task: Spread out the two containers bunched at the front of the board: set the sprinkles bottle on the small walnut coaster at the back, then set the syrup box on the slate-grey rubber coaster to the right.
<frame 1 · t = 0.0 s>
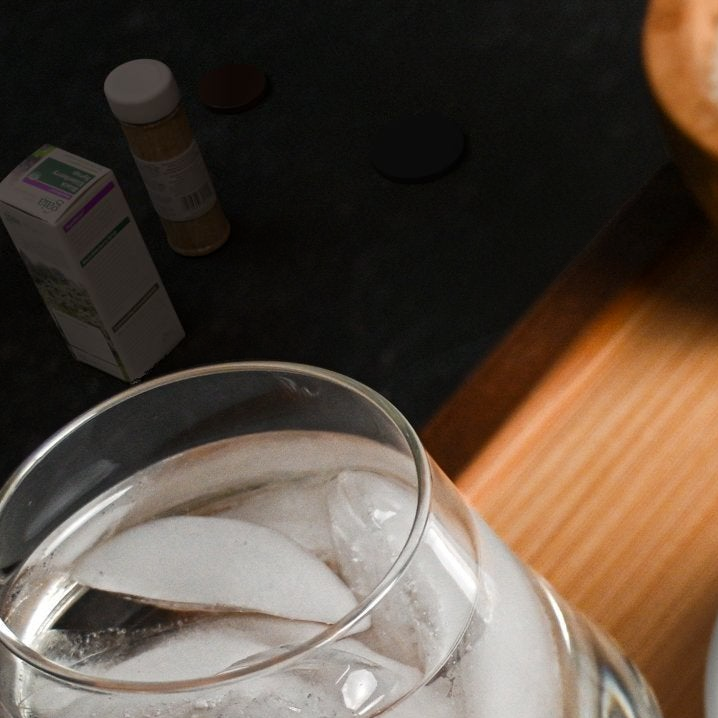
back coaster: (233, 91, 146), on the countertop
sprinkles bottle: (200, 240, 138), on the countertop
syrup box: (131, 351, 132), on the countertop
side coaster: (418, 152, 142), on the countertop
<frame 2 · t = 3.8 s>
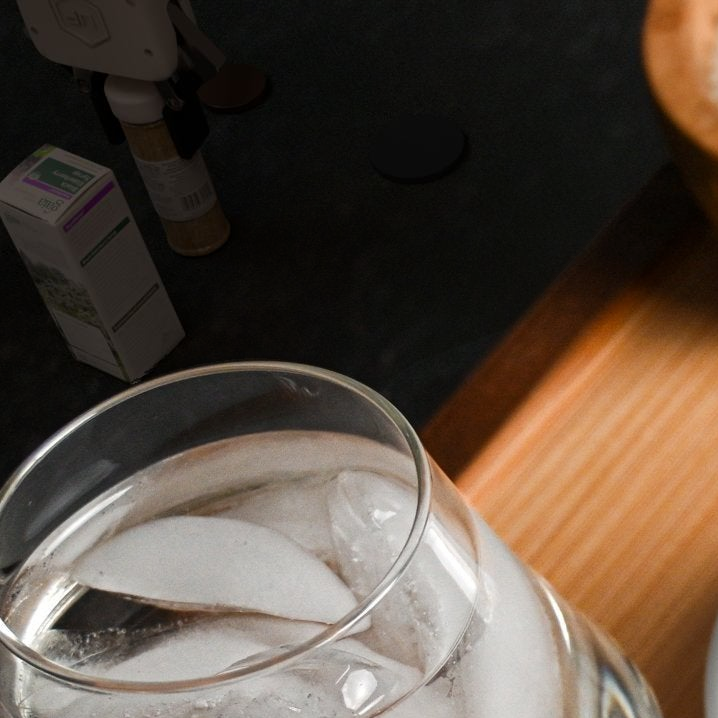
hand: (160, 136, 130), 9 cm above the countertop, tool pointing down, fingers closed on sprinkles bottle, 4 cm apart
sprinkles bottle: (200, 240, 138), on the countertop, touching gripper
everything else where it was.
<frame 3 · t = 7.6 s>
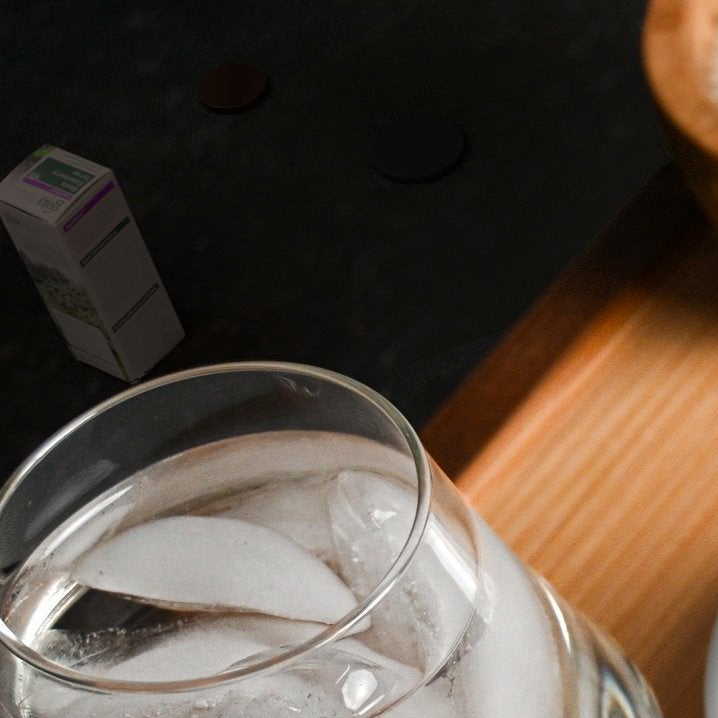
when the fingers open (9 cm above the countertop, at t = 11.7 s): sprinkles bottle stays where it is, resting on back coaster.
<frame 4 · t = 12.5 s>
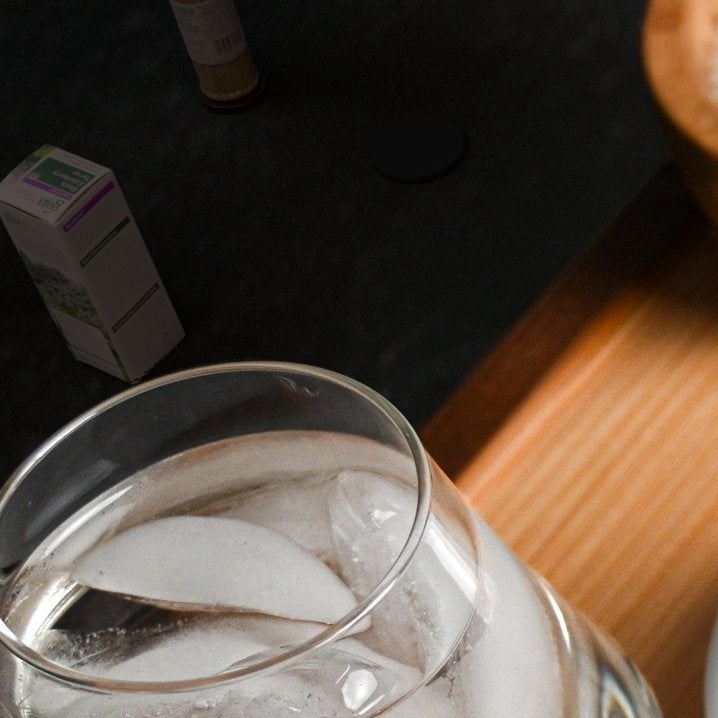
sprinkles bottle: (231, 87, 146), resting on back coaster
everything else where it was.
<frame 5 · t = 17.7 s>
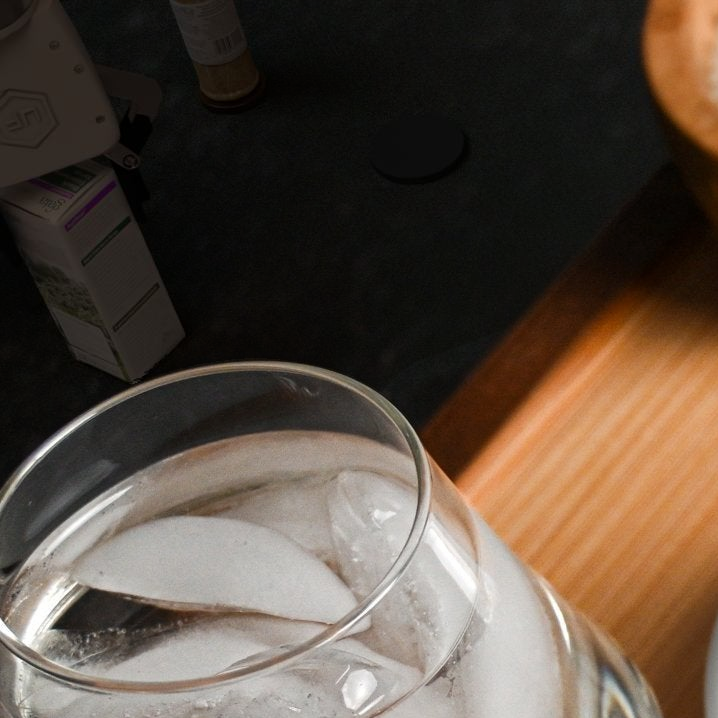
hand: (75, 230, 123), 10 cm above the countertop, tool pointing down, fingers closed on syrup box, 7 cm apart
syrup box: (130, 351, 132), on the countertop, touching gripper
everything else where it was.
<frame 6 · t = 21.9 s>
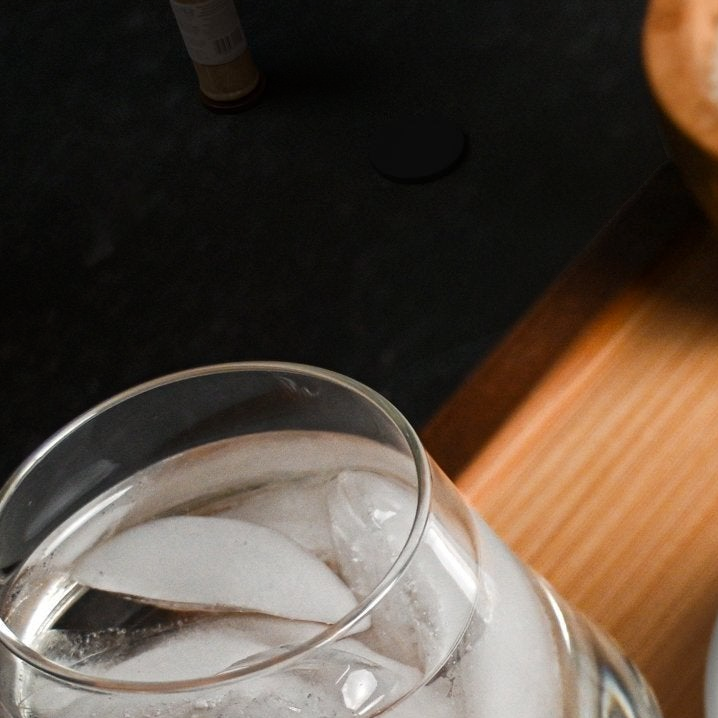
when the fingers open (11 cm above the countertop, at t = 26.2 s): syrup box stays where it is, resting on side coaster.
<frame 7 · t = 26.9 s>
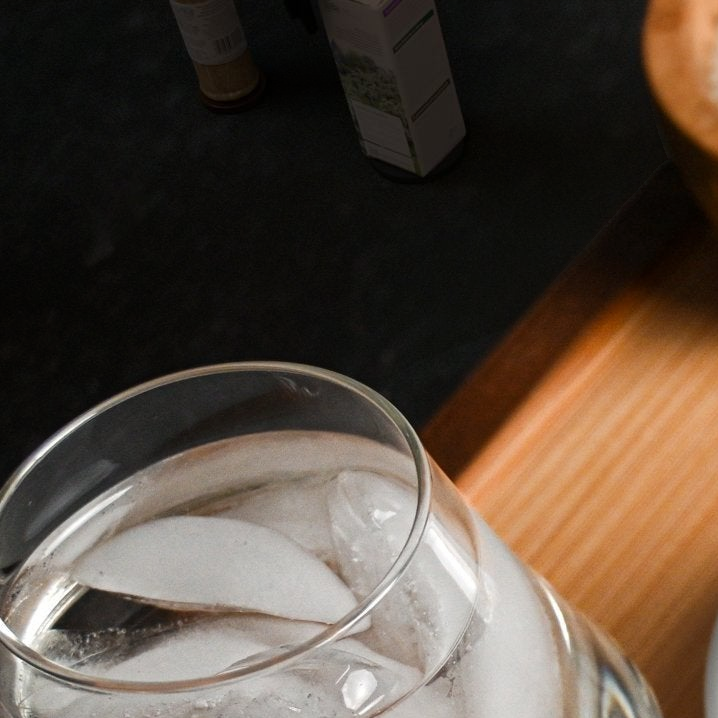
hand: (374, 1, 131), 13 cm above the countertop, tool pointing down, fingers open, 9 cm apart
syrup box: (415, 148, 141), resting on side coaster
everything else where it was.
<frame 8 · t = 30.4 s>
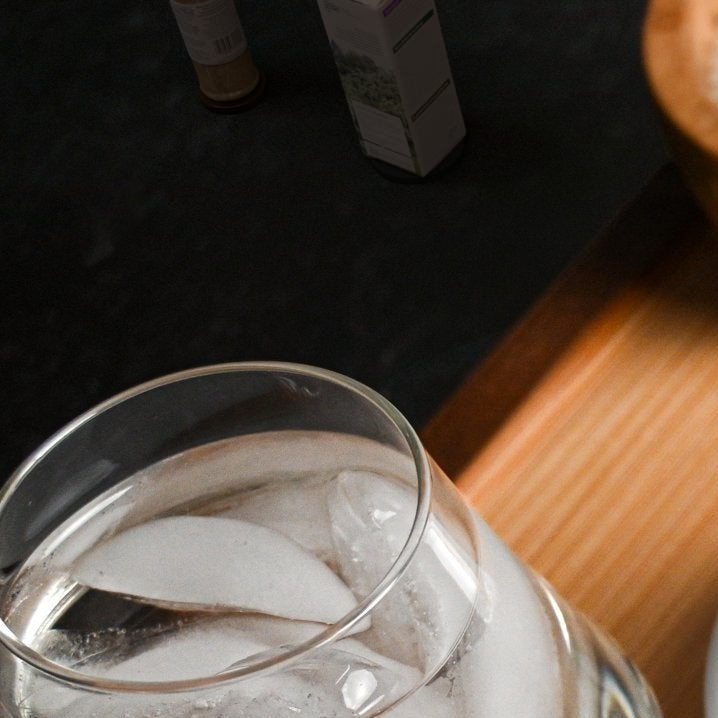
nothing on the countertop moved.
at the end: sprinkles bottle 0.1 cm off-centre on the back coaster, point 0.4 cm above the back coaster's base; syrup box 0.1 cm off-centre on the side coaster, point 0.4 cm above the side coaster's base; sprinkles bottle tilted 0° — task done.
